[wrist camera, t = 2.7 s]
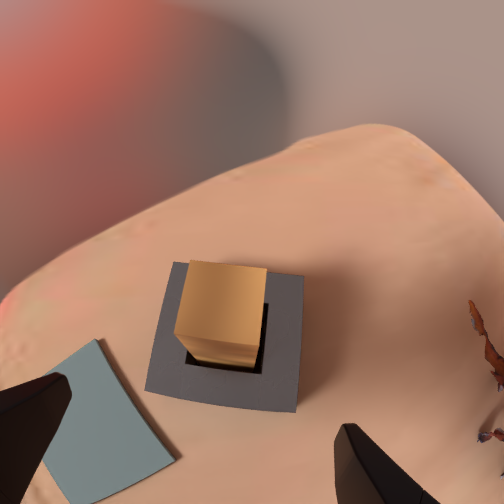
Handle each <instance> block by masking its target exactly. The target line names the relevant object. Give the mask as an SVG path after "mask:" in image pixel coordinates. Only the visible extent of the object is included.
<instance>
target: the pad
mask: <svg viewBox="0 0 504 504" xmlns="http://www.w3.org/2000/svg"><path fill="white" fill-rule="evenodd" d="M53 372H59V373H61V374H64V375H66V377H67V379H68V382H69V385H70V388H71V391H72V399H71V401H70V403H69V405H68V408H67V410H66V412H65V415H64V417H63V419H62V422H61V424H60V426H59V428H58V430H57V432H56V434H55V436H54V438H53V440H52V442H51V443H50V445H49V447H48V449H47V451H46V453H45V454H44V456H43V458H42V460H43V462H44V464H45V465H46V467H47V469H48V471H49V472H50V474H51V476H52V477H53V479H54V480H55V482H56V484H57V485H58V487H59V488H60V490H61V491H62V493H63V494H64V496H65V497H66V498H67V500H68V501H69V503H70V504H92V503H94V502H96V501H99V500H101V499H103V498H105V497H108V496H110V495H112V494H114V493H116V492H118V491H120V490H122V489H124V488H126V487H128V486H130V485H132V484H134V483H136V482H138V481H140V480H142V479H144V478H146V477H148V476H149V475H151V474H153V473H155V472H157V471H158V470H160V469H162V468H164V467H165V466H167V465H169V464H170V463H172V462H174V461H175V460H176V459H175V458H174V456H173V455H172V454H171V453H170V452H169V450H168V449H167V448H166V447H165V445H164V444H163V443H162V441H161V440H160V439H159V437H158V436H157V435H156V434H155V432H154V431H153V429H152V428H151V427H150V425H149V424H148V423H147V421H146V420H145V418H144V417H143V415H142V414H141V413H140V411H139V410H138V408H137V407H136V405H135V404H134V402H133V401H132V399H131V398H130V396H129V394H128V393H127V391H126V390H125V388H124V386H123V385H122V383H121V382H120V380H119V378H118V377H117V375H116V373H115V371H114V370H113V368H112V366H111V364H110V363H109V361H108V359H107V357H106V355H105V354H104V352H103V350H102V348H101V346H100V344H99V342H98V340H96V339H94V340H92V341H91V342H89V343H88V344H87V345H85V346H84V347H82V348H81V349H80V350H78V351H77V352H75V353H74V354H73V355H71V356H70V357H68V358H67V359H66V360H64V361H63V362H61V363H60V364H59V365H57V366H56V367H54V368H53V369H52V370H50V371H49V372H48V373H46V374H45V375H48V374H51V373H53ZM45 375H43V376H45ZM43 376H42V377H43Z"/></svg>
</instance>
